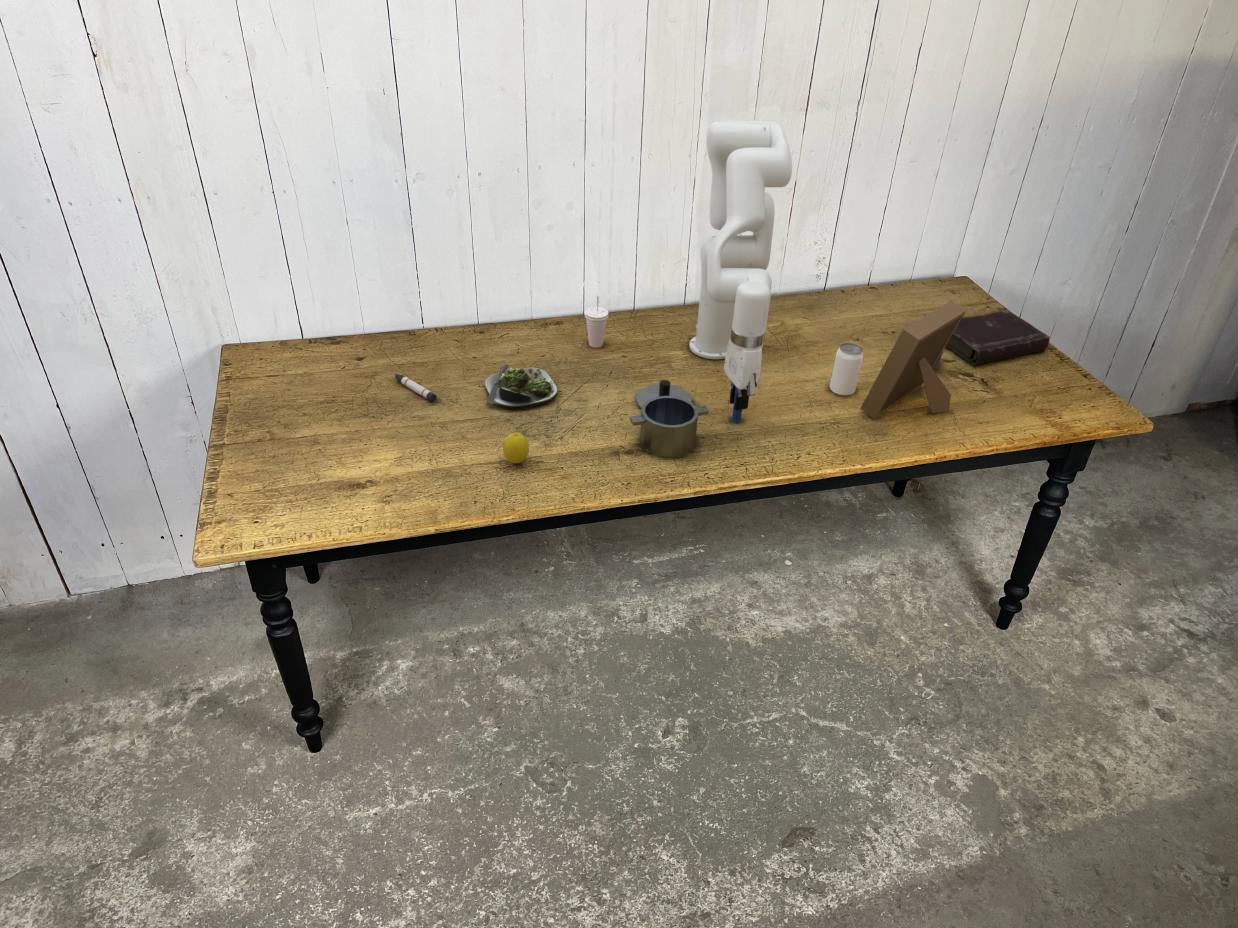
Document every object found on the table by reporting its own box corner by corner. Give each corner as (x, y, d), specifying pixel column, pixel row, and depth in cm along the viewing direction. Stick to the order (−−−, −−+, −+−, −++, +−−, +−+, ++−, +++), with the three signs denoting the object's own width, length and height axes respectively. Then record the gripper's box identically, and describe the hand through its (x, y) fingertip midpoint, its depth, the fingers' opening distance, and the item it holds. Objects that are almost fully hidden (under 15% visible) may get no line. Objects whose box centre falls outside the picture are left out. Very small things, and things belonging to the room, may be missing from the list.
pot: (621, 432, 201) (623, 401, 196) (693, 421, 205) (696, 391, 200) (639, 463, 191) (640, 432, 186) (714, 451, 196) (717, 420, 191)
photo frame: (859, 412, 211) (881, 320, 196) (905, 381, 224) (929, 292, 209) (913, 438, 203) (940, 344, 188) (958, 404, 215) (987, 314, 200)
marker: (437, 400, 209) (436, 393, 208) (430, 403, 208) (429, 396, 207) (398, 376, 217) (397, 369, 216) (391, 379, 216) (390, 372, 215)
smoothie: (611, 341, 236) (612, 294, 227) (602, 352, 231) (604, 304, 222) (589, 336, 237) (589, 289, 229) (580, 347, 232) (581, 299, 224)
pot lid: (628, 392, 215) (629, 372, 212) (679, 384, 219) (681, 365, 215) (646, 421, 205) (647, 401, 201) (699, 413, 208) (701, 393, 205)
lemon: (504, 455, 192) (502, 426, 187) (529, 455, 192) (528, 425, 188) (503, 471, 188) (501, 441, 183) (529, 470, 188) (528, 440, 183)
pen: (729, 418, 207) (735, 374, 200) (738, 417, 208) (744, 372, 200) (733, 424, 205) (739, 379, 198) (742, 422, 206) (749, 377, 198)
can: (855, 398, 216) (865, 356, 209) (829, 394, 217) (837, 352, 210) (854, 385, 221) (864, 343, 214) (829, 381, 222) (838, 340, 215)
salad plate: (473, 375, 219) (472, 359, 216) (541, 364, 224) (541, 349, 221) (491, 415, 204) (490, 399, 202) (563, 403, 210) (563, 387, 207)
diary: (1046, 352, 238) (1052, 336, 235) (974, 368, 230) (980, 351, 227) (998, 323, 252) (1003, 307, 249) (929, 336, 244) (934, 320, 241)
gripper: (718, 322, 198) (710, 390, 209) (747, 356, 186) (737, 426, 197) (748, 318, 200) (738, 386, 211) (778, 351, 188) (767, 422, 199)
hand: (738, 405), depth 204 cm, fingers closed on pen, 2 cm apart
